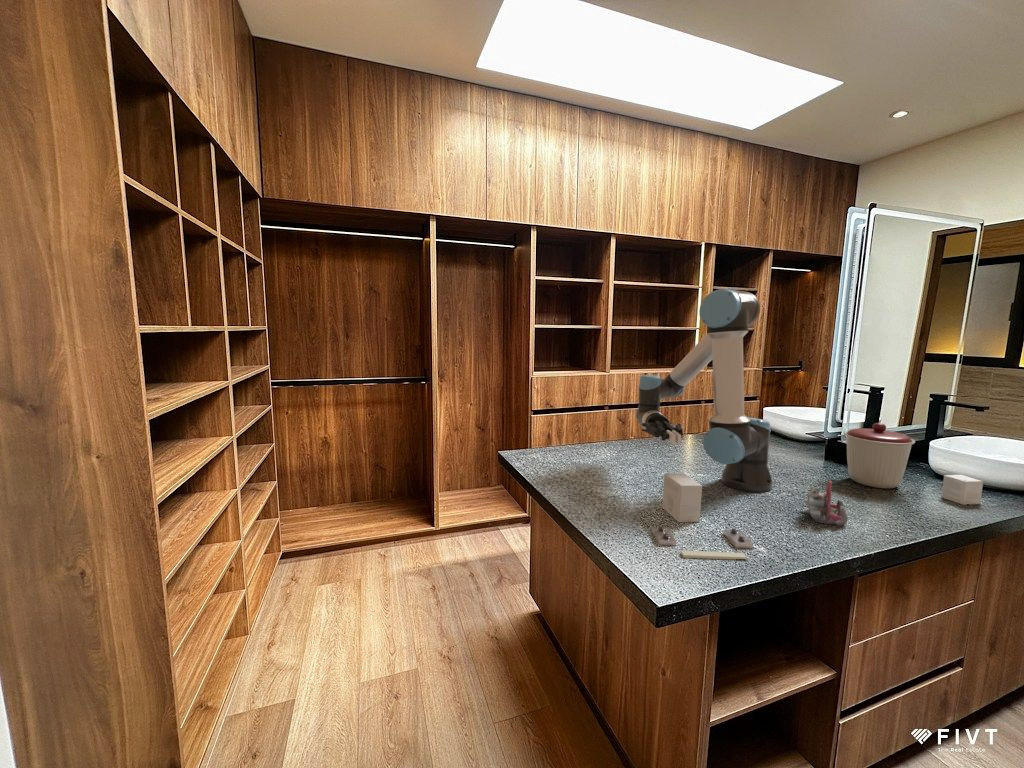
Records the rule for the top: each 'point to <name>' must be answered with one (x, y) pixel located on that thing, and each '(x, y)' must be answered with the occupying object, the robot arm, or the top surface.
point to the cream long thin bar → (713, 555)
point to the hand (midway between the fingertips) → (676, 439)
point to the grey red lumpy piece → (825, 507)
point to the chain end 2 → (738, 538)
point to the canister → (877, 456)
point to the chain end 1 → (663, 536)
